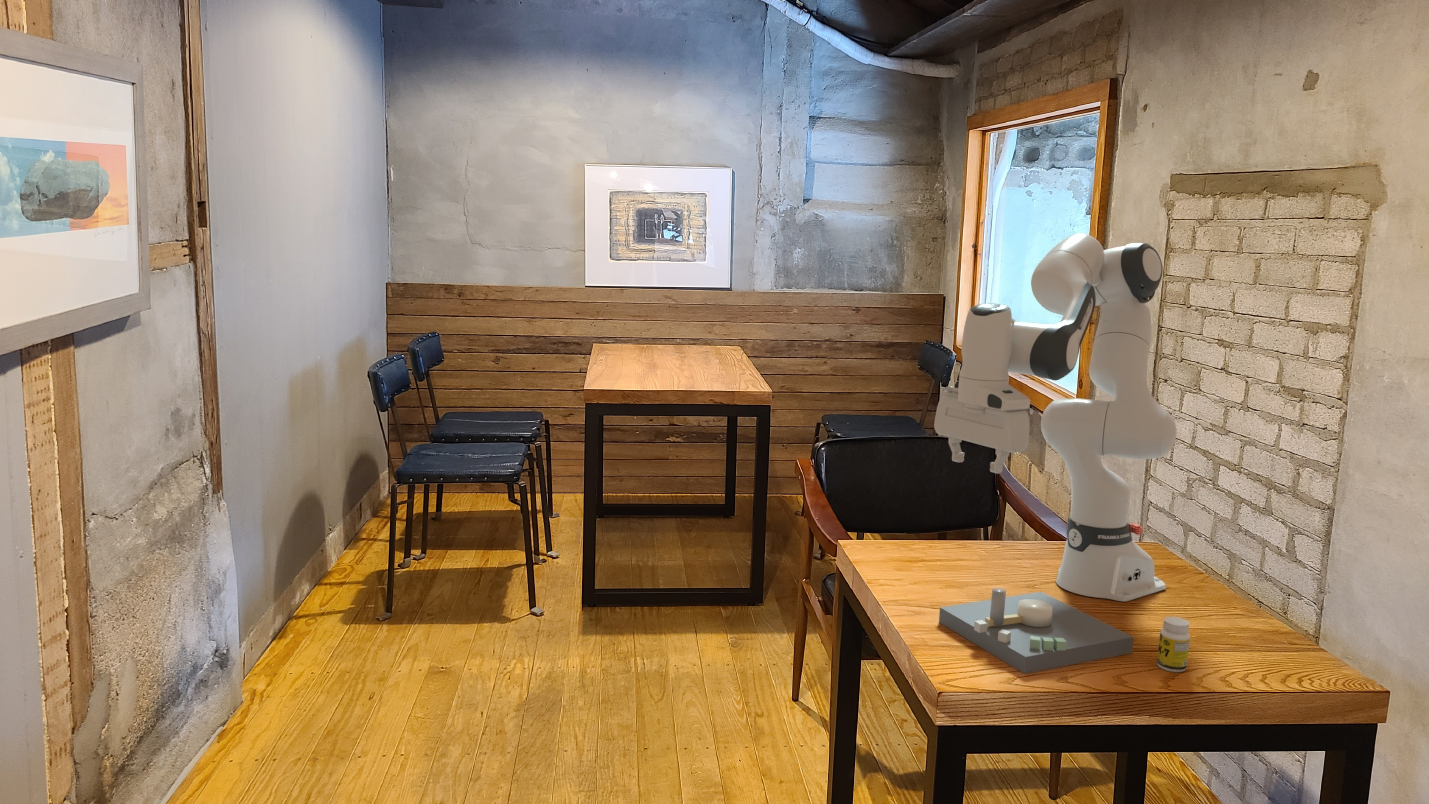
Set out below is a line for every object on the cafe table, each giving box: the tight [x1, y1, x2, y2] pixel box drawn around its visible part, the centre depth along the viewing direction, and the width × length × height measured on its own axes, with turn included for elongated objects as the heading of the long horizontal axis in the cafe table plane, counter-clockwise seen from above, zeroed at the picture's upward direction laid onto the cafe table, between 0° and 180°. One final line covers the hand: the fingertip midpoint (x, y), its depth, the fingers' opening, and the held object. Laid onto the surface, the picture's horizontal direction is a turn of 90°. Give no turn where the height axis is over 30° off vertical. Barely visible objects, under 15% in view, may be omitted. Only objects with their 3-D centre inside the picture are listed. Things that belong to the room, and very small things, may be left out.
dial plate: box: [938, 591, 1134, 675], centre depth 199 cm, size 25×24×5 cm
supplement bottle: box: [1156, 616, 1191, 673], centre depth 187 cm, size 5×5×8 cm
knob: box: [985, 587, 1053, 627], centre depth 197 cm, size 13×6×6 cm, turn 109°
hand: (976, 466), depth 202 cm, fingers open, 8 cm apart
